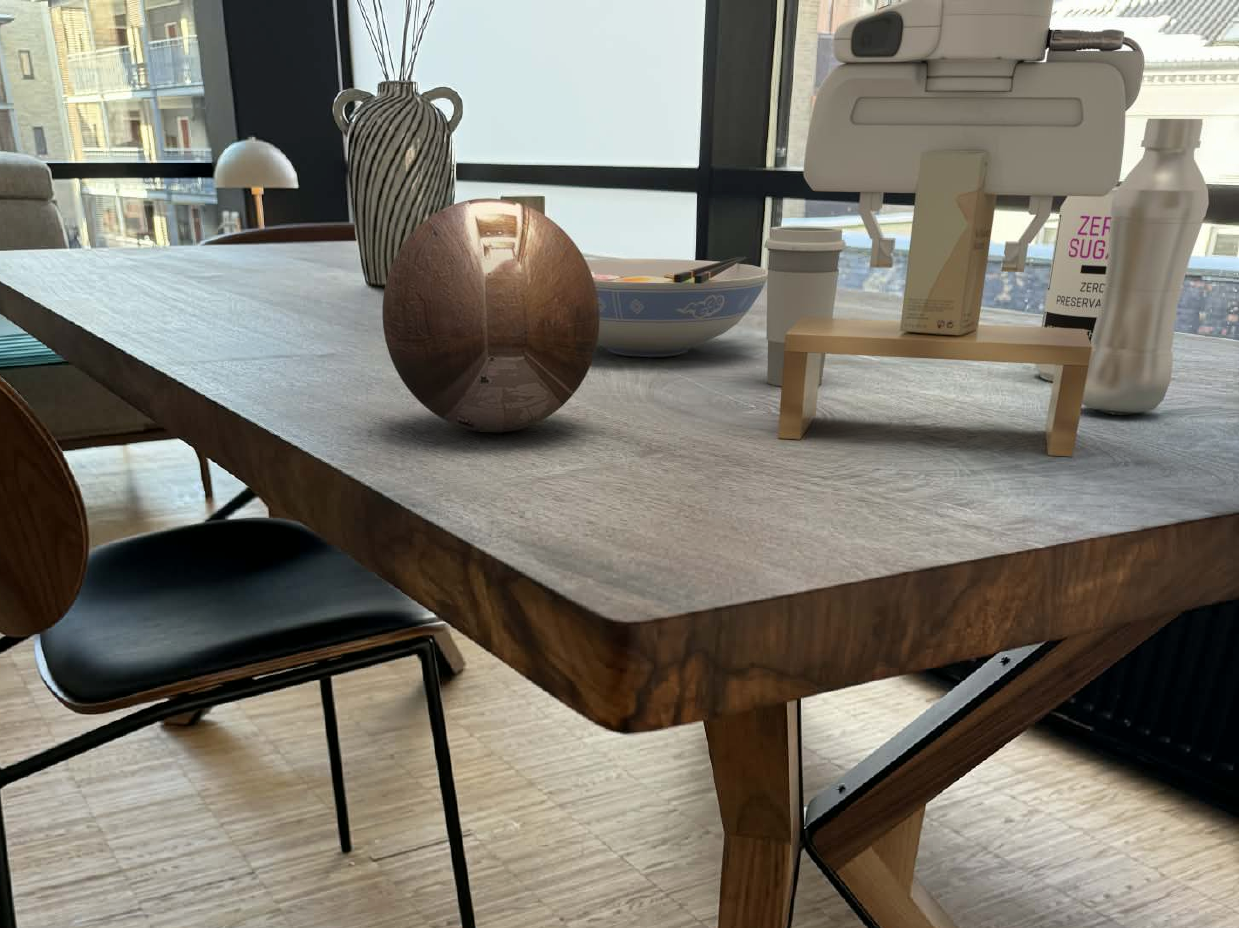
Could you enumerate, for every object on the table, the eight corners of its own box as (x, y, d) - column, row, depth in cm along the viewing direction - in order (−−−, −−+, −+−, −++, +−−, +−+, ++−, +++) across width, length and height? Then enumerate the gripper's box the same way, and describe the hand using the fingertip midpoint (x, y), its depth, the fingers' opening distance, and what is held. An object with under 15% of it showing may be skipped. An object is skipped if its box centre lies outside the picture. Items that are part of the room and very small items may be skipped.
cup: (820, 392, 112) (834, 232, 106) (743, 385, 114) (753, 229, 108) (843, 379, 117) (857, 227, 112) (770, 373, 120) (780, 224, 114)
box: (959, 337, 91) (984, 151, 85) (897, 333, 93) (917, 150, 87) (980, 328, 95) (1004, 150, 89) (920, 324, 97) (941, 149, 91)
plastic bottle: (1073, 402, 108) (1124, 118, 99) (1162, 408, 106) (1223, 119, 97) (1070, 417, 103) (1123, 118, 93) (1164, 423, 101) (1229, 119, 91)
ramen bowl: (576, 329, 144) (576, 245, 140) (788, 340, 138) (794, 252, 134) (489, 364, 123) (487, 267, 119) (734, 379, 117) (740, 277, 113)
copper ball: (431, 461, 88) (419, 206, 81) (363, 419, 100) (346, 194, 93) (634, 441, 94) (640, 202, 87) (546, 404, 106) (545, 191, 99)
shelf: (1067, 431, 99) (1085, 328, 95) (1072, 456, 91) (1092, 346, 88) (794, 415, 103) (802, 317, 100) (777, 438, 96) (785, 333, 92)
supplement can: (1107, 370, 123) (1142, 186, 115) (1146, 386, 115) (1185, 190, 108) (1020, 371, 122) (1049, 185, 115) (1053, 386, 115) (1086, 190, 108)
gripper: (1146, 31, 85) (1104, 270, 92) (822, 33, 90) (804, 260, 97) (1155, 25, 80) (1109, 279, 87) (810, 28, 85) (792, 268, 91)
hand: (946, 269), depth 92 cm, fingers open, 7 cm apart
